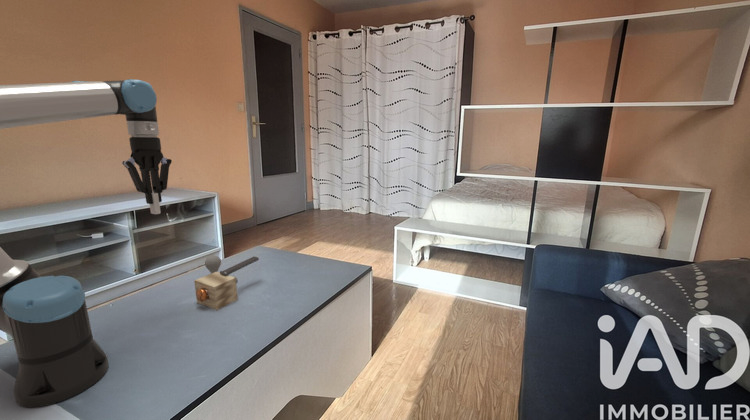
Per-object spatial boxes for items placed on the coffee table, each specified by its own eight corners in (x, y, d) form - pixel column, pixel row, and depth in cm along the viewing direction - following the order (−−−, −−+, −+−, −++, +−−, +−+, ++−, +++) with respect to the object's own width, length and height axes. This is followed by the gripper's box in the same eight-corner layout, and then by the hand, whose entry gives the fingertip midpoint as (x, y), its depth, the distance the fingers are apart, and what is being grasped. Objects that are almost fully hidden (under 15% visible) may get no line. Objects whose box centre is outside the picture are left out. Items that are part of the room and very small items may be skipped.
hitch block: (216, 310, 102) (214, 287, 100) (197, 302, 106) (194, 280, 105) (237, 299, 109) (235, 277, 107) (218, 292, 113) (216, 271, 111)
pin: (204, 303, 101) (203, 291, 100) (196, 299, 103) (195, 288, 102) (239, 286, 113) (238, 275, 112) (231, 283, 114) (230, 273, 113)
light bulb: (218, 283, 120) (215, 258, 118) (204, 283, 120) (201, 258, 118) (225, 277, 126) (222, 253, 123) (211, 277, 126) (209, 253, 123)
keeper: (226, 276, 108) (225, 273, 107) (219, 274, 109) (219, 271, 109) (259, 260, 120) (259, 257, 120) (253, 258, 121) (253, 256, 121)
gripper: (126, 136, 88) (139, 219, 93) (174, 136, 99) (183, 210, 104) (112, 136, 91) (125, 216, 96) (160, 136, 102) (169, 208, 108)
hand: (155, 213), depth 100 cm, fingers closed
